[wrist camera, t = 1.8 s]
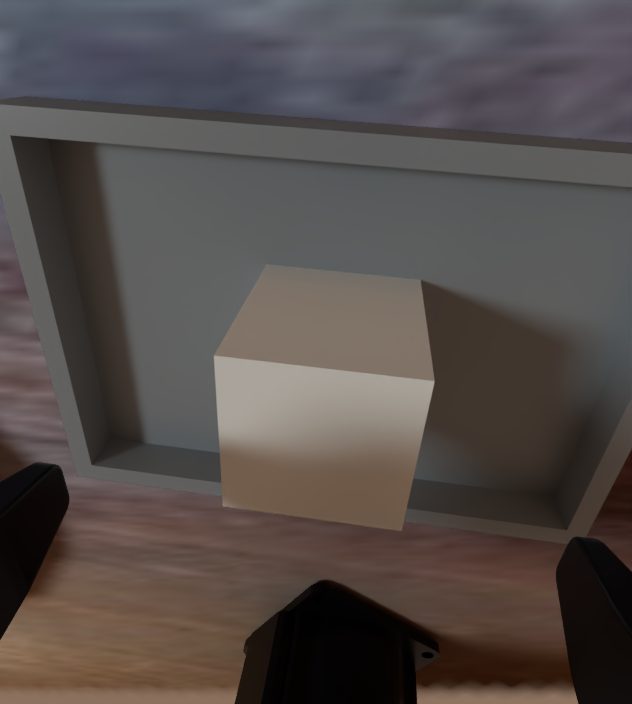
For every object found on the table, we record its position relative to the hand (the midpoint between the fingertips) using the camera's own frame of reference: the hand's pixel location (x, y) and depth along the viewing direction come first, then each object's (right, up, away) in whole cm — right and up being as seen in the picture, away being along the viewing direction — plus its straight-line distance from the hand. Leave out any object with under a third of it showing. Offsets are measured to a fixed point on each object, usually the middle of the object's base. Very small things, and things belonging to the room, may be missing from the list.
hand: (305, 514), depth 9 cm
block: (+1, +3, +5) cm, 6 cm away
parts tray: (+1, +3, +5) cm, 7 cm away
